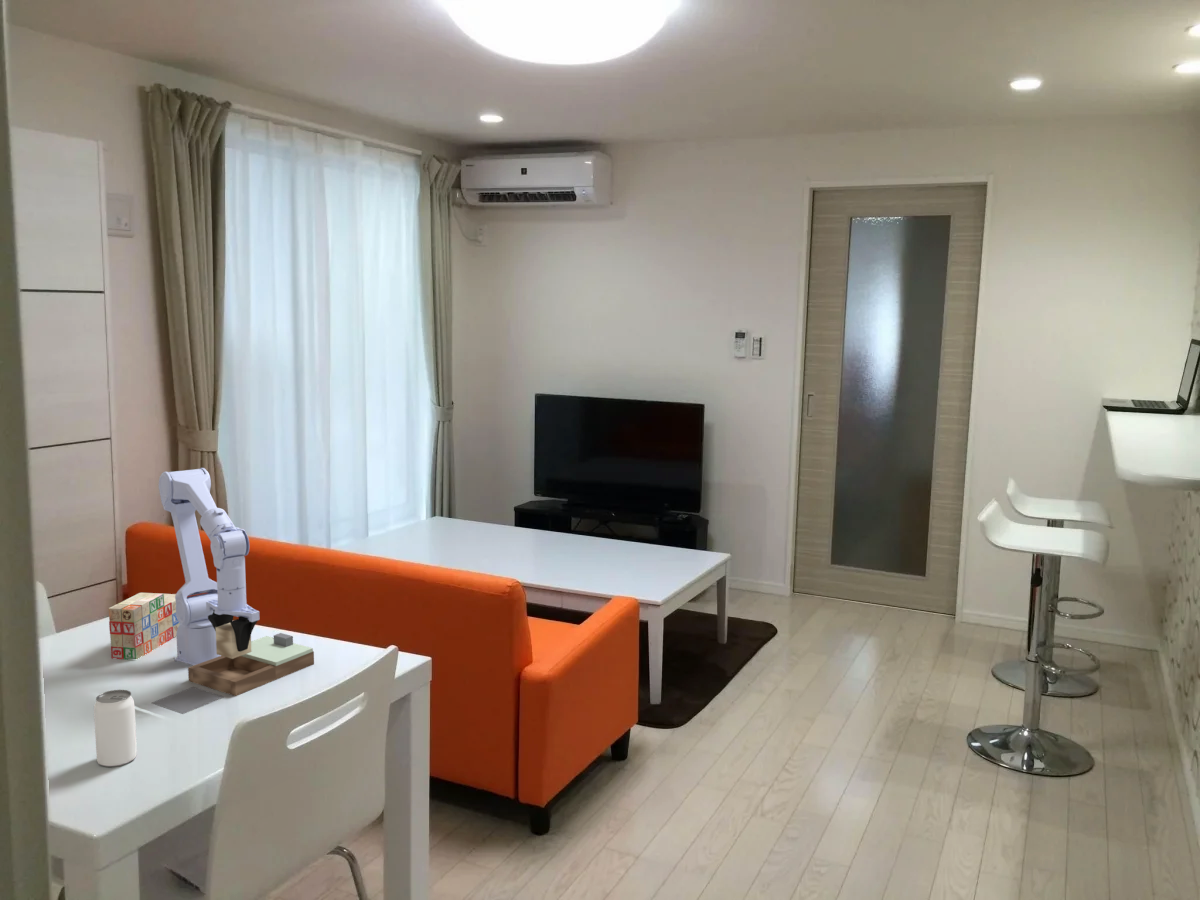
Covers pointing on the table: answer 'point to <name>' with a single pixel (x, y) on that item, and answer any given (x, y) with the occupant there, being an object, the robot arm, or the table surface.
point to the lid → (276, 649)
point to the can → (115, 728)
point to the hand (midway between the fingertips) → (233, 647)
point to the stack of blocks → (142, 624)
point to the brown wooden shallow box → (243, 672)
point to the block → (228, 642)
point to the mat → (187, 700)
